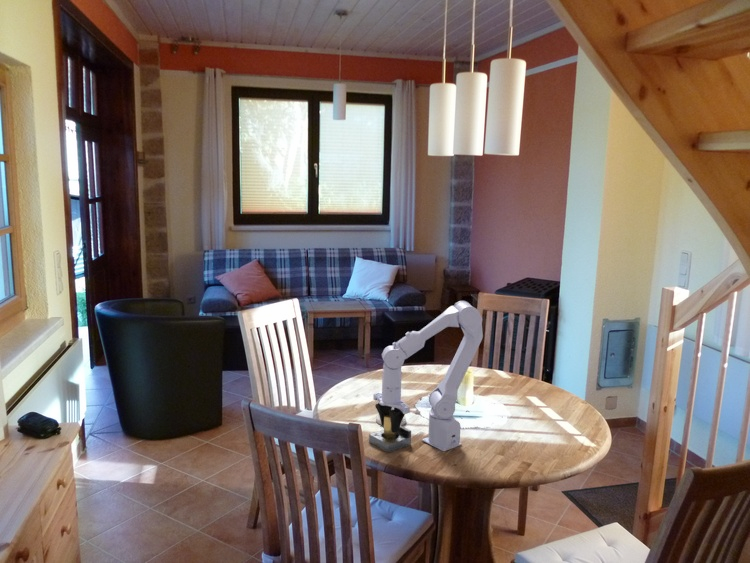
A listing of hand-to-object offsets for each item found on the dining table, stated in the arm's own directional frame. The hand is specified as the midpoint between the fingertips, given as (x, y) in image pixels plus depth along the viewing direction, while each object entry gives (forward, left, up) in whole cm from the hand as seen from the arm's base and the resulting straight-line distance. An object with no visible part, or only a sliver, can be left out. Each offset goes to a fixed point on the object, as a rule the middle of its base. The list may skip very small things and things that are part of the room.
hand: (390, 428), depth 181 cm
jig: (0, 0, -5) cm, 5 cm away
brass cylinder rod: (0, 0, -3) cm, 3 cm away
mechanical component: (+13, -12, -5) cm, 18 cm away
